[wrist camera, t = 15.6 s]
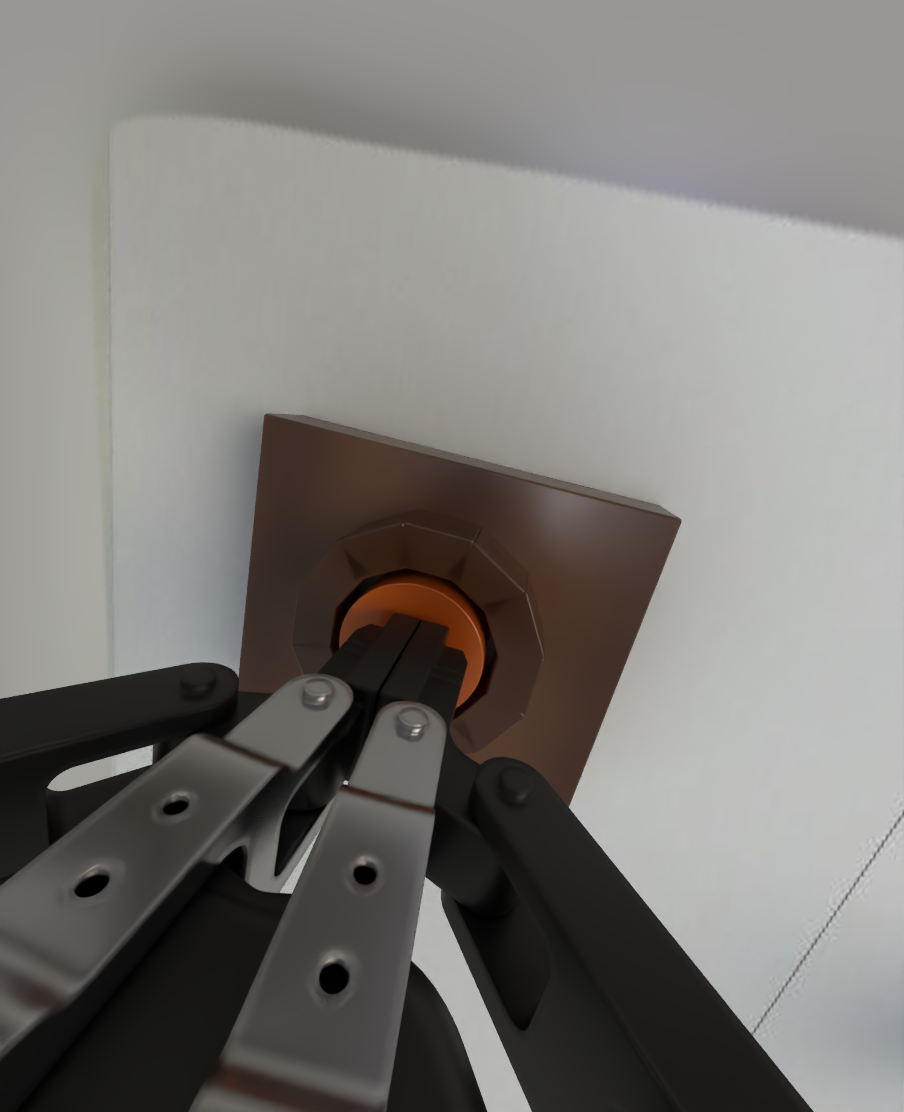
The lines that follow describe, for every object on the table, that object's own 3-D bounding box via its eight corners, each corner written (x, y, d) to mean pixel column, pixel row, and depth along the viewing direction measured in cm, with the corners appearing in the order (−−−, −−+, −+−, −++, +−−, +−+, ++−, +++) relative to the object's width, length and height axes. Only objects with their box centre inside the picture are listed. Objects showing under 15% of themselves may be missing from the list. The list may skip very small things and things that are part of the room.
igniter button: (352, 664, 15) (328, 694, 13) (373, 548, 14) (350, 565, 12) (472, 701, 14) (463, 737, 13) (505, 584, 13) (500, 607, 11)
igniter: (269, 669, 18) (200, 733, 15) (300, 414, 15) (223, 410, 12) (565, 763, 17) (572, 858, 13) (661, 505, 14) (707, 534, 10)
